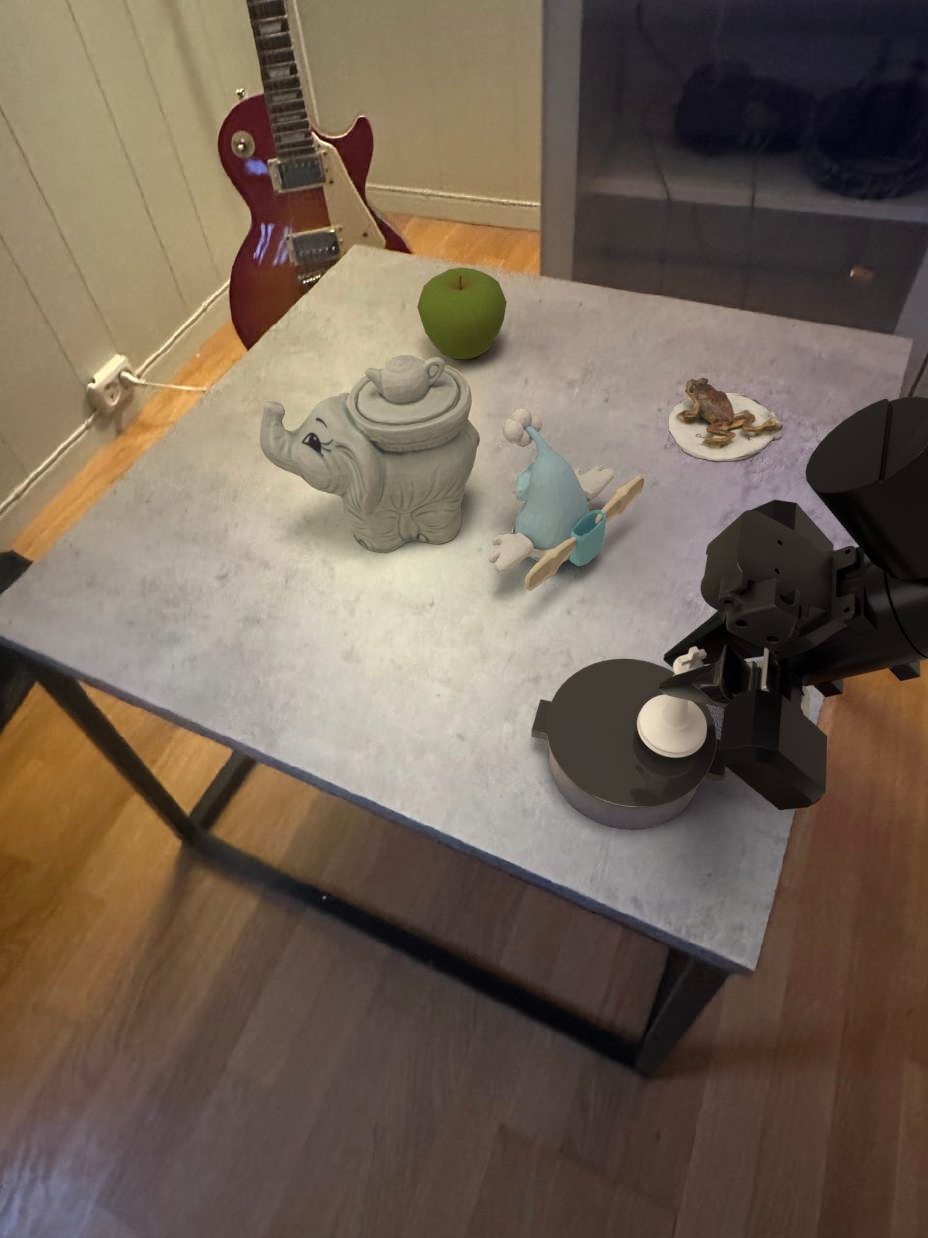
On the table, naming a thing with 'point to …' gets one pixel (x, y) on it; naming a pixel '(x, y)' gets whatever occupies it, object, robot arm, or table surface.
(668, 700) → the chess piece
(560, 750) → the pot
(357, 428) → the teapot
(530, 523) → the toy figure
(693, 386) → the frog figurine
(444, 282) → the apple
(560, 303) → the table surface
